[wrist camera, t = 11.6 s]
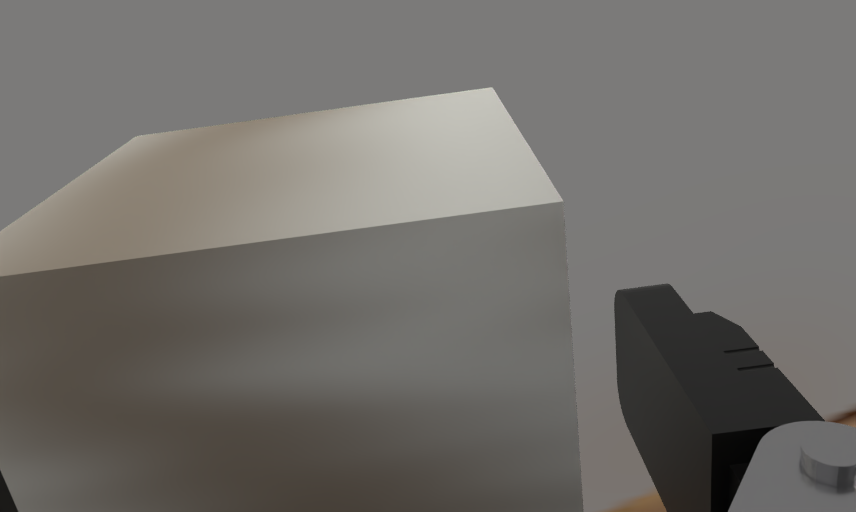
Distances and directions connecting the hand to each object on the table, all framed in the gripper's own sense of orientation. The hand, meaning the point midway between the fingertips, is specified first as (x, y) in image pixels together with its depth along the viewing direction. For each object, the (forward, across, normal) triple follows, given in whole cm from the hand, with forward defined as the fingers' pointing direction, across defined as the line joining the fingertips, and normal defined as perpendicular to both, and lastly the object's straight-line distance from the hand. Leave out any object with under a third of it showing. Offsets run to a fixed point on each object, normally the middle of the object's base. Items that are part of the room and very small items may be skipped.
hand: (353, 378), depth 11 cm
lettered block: (-2, 0, +8) cm, 8 cm away
